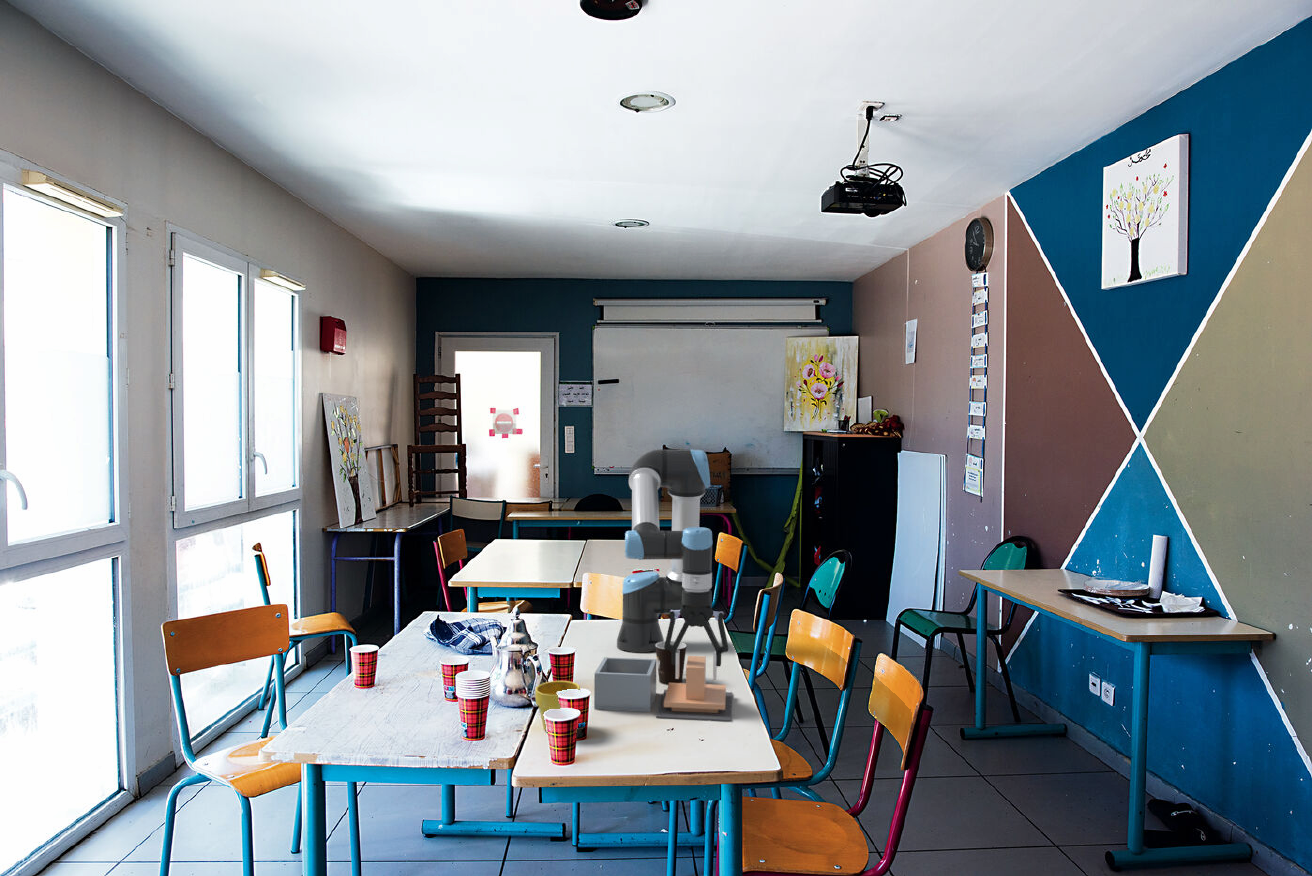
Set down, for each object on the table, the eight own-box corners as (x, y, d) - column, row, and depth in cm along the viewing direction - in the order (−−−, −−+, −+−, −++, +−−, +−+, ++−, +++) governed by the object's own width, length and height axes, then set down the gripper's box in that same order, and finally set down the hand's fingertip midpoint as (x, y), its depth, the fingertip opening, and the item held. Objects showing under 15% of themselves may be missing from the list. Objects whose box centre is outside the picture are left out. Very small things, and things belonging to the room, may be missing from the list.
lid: (668, 692, 212) (669, 652, 212) (725, 695, 210) (726, 654, 210) (663, 713, 197) (664, 669, 197) (725, 715, 195) (725, 672, 195)
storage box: (604, 690, 214) (604, 657, 214) (656, 693, 213) (656, 659, 213) (594, 709, 200) (594, 673, 200) (649, 711, 199) (650, 675, 199)
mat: (664, 691, 214) (664, 689, 214) (732, 694, 213) (732, 692, 213) (656, 718, 195) (656, 716, 195) (730, 721, 193) (730, 719, 193)
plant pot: (530, 736, 182) (530, 694, 182) (540, 720, 193) (540, 679, 192) (575, 738, 182) (576, 695, 181) (583, 721, 192) (583, 680, 192)
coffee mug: (683, 687, 218) (683, 650, 218) (652, 684, 219) (652, 648, 219) (690, 674, 229) (690, 639, 229) (660, 672, 231) (660, 637, 231)
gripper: (652, 590, 201) (652, 680, 201) (739, 593, 198) (738, 684, 199) (656, 585, 208) (655, 671, 208) (739, 587, 206) (738, 675, 206)
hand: (696, 677), depth 203 cm, fingers open, 9 cm apart
